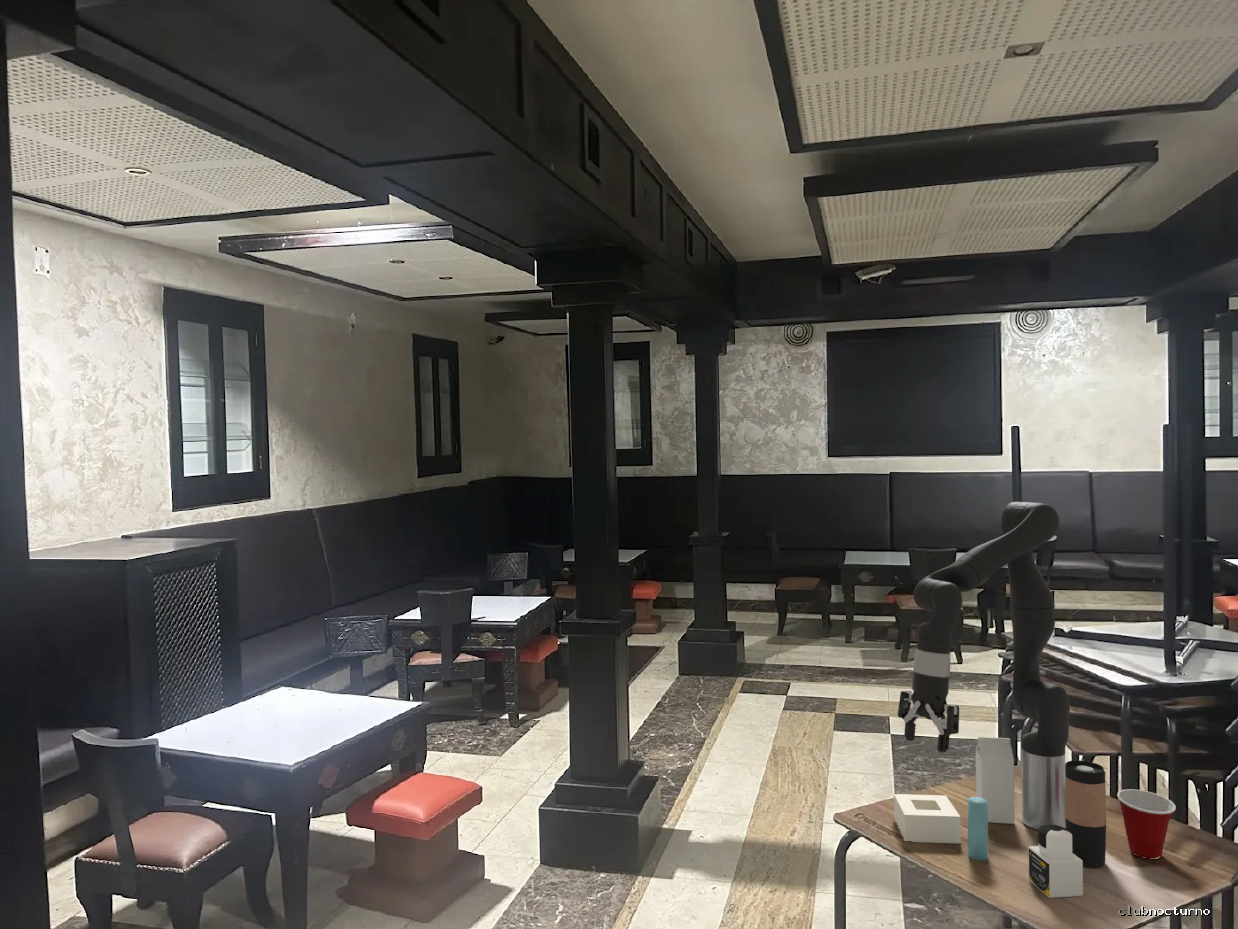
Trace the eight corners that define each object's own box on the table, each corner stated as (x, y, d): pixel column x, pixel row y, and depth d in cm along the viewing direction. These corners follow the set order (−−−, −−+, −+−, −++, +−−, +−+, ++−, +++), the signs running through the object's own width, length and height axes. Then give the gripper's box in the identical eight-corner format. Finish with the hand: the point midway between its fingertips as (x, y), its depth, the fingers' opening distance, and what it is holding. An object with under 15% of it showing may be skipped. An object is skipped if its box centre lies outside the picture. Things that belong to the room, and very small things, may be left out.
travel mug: (1057, 856, 184) (1056, 763, 184) (1082, 849, 187) (1081, 758, 187) (1089, 872, 177) (1088, 775, 177) (1115, 864, 180) (1114, 769, 180)
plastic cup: (1152, 870, 178) (1152, 812, 178) (1105, 848, 188) (1105, 793, 188) (1188, 860, 182) (1188, 804, 182) (1140, 839, 192) (1140, 786, 192)
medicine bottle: (1028, 881, 174) (1027, 822, 174) (1061, 879, 174) (1061, 820, 174) (1048, 899, 167) (1048, 837, 167) (1083, 896, 167) (1083, 835, 167)
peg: (984, 852, 186) (984, 797, 186) (990, 861, 183) (990, 804, 182) (965, 851, 187) (965, 796, 187) (971, 860, 183) (970, 804, 183)
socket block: (946, 821, 203) (945, 795, 203) (960, 843, 191) (960, 816, 191) (893, 819, 204) (893, 794, 204) (905, 841, 192) (904, 814, 192)
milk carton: (1014, 824, 200) (1013, 743, 200) (982, 822, 202) (981, 742, 202) (1007, 812, 207) (1006, 734, 207) (976, 810, 209) (975, 732, 209)
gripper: (970, 678, 184) (964, 754, 183) (916, 664, 196) (910, 735, 196) (947, 679, 180) (941, 757, 180) (894, 664, 192) (888, 737, 192)
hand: (925, 745), depth 188 cm, fingers open, 8 cm apart
